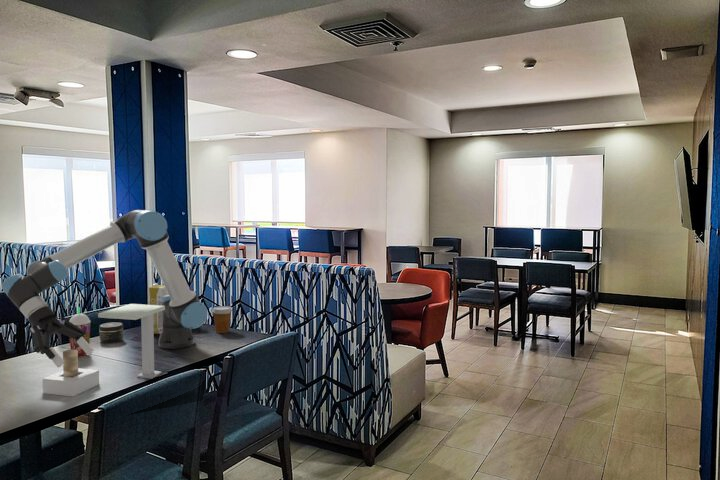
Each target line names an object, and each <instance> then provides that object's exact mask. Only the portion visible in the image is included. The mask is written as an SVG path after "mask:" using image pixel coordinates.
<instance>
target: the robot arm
mask: <svg viewBox="0 0 720 480" xmlns="http://www.w3.org/2000/svg"><path fill="white" fill-rule="evenodd" d="M167 230H168V222H167V220H166V218H165V217H164V215H162V213H159V212H158V211H155V210H152V209H134V210H131V211H128V213H127V212H126V214H124V215H122V216H121V217H118V218H116V219H115V220H113V221H110V224H109V225H108V226H106V227H104V228H102V229H101V230H98V231H97V232H95V233H93V234H91V235H89V236H86V237H84V238H82V239H80V240H79V241H77V242H75V243H73V244H71V245H69V246H67V247H64V248H62V249H61V250H58V251H56V252H54V253H52V254H50V255H49V256H47V257H45V258H43V259H41V260H36V261H33V262H32V261H31V263H29V265H28V266H27V267H26V276H24V275H23V274H20V273H16V274H14V275H10V276H8V277H7V278H5V279H4V281H3V282H2V284H1V289H2V291H3V292H4V294H5V295H6V296H7V297H8V298H9V300H10V301H11V302H12V303H13V304H14V306H15V307H17V309H18V310H19V311H20V312H21V314H23V315H22V316H24V317H25V318H26V319H27V321H28V322H29V323H30V325H31V327H30V328H29V330H28V332H29V333H30V335H31V337H32V341H33V345H34V349H35V352H36V353H37V354H40V355H44V354H45V356H46V357H47V358H48V359H49V360H51V361H52V362H53V364H54V365H55V366H56V367H57V368H61V366H63V363H64V362H65V361H64V360H63V357H61V356H60V354H59V353H58V352H57V350H55V348H54V346H50V344H51V343H50V342H51V336H52V335H57V334H58V335H60V334H62V335H64V336H66V337H71V338H73V339H76V340H78V341H77V343H78V344H79V346H80V347H81V348H82V349H83V350H84V352H85V353H86V355H87V356H90V355H92V353H93V352H94V351H95V349H94V348H93V347H92V346H91V345H90V344H89V343H88V341H87V340H86V339H85V338H84V335H85V334H86V332H85V331H84V330H82V329H80V328H79V327H77V326H76V325H74V324H72V323H71V322H69V321H70V320H68V319H67V318H66V317H65V316H62V317H60V319H58V318H56V314H55V311H54V310H53V309H52V308H51V307H50V306H48V303H47V302H46V301H45V300H44V298H43V297H42V296H41V295H40V294H41V293H43V292H45V291H46V290H49V289H50V288H51V287H53V286H55V285H57V284H59V283H60V282H62V281H63V280H65V279H67V278H68V277H69V274H70V273H69V271H68V269H70V268H72V267H74V266H76V265H78V264H80V263H81V262H84V261H86V260H87V259H89V258H91V257H93V256H95V255H97V254H99V253H101V252H103V251H104V250H107V249H109V248H110V247H113V246H114V245H116V244H119V243H126V242H128V241H130V240H132V239H136V241H137V242H138V244H139V246H140V248H141V249H144V250H146V251H147V253H148V256H149V258H150V259H151V261H152V264H153V266H154V268H155V270H156V272H157V274H158V276H159V278H160V280H161V282H162V284H163V285H164V286H165V288H166V290H167V292H168V295H165V296H163V298H162V306H165V310H163V311H162V326H163V327H162V332H161V334H159V338H158V347H159V348H161V349H167V350H170V349H171V350H173V349H174V350H176V349H183V348H188V347H191V346H193V345H194V343H195V337H194V335H193V332H192V330H194V329H197V328H198V329H199V328H200V327H201V326H202V325H203V324H204V323H205V322H206V321H207V318H208V315H209V314H208V312H209V311H208V309H207V306H206V305H205V304H204V303H203V302H201V301H200V299H199V297H198V295H197V293H196V291H193V290H191V289H190V286H189V284H188V282H187V280H186V278H185V275H184V274H183V272H182V270H181V268H180V266H179V264H178V262H177V259H176V257H175V255H174V253H173V251H172V248H171V246H170V244H169V242H168V241H169V238H170V237H169V234H168V231H167ZM77 336H78V337H77Z"/></svg>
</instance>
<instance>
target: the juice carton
mask: <svg viewBox="0 0 720 480" xmlns="http://www.w3.org/2000/svg"><path fill="white" fill-rule="evenodd" d="M165 295H168V292H167V290H166V288H165V286H164V284H163V285H162V284H159V283H153V284H152V286H150V287H147V305H160V306H162V298H163V296H165ZM153 324H154V334H155V335H161V332H162V327H163V326H162V311H160V312H157V313H154V314H153Z"/></svg>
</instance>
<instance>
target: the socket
mask: <svg viewBox="0 0 720 480" xmlns="http://www.w3.org/2000/svg"><path fill="white" fill-rule="evenodd" d="M98 385H100V369H89V368H80V367H78V375H77V376H75V377H73V378H71V377H64V375H63V369H62V370H60V371H57V372H55V373H53V374H50V375H48V376H46V377H43V378H42V394H48V395H58V396H65V397H66V396H67V397H75V396H78V395H79V394H82V393H84V392H86V391H88V390H89V389H92V388H94V387H96V386H98Z"/></svg>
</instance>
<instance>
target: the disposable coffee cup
mask: <svg viewBox="0 0 720 480" xmlns="http://www.w3.org/2000/svg"><path fill="white" fill-rule="evenodd" d="M232 311H233V309H232V307H231V306H227V305H221V306H215V307H213V309H212V311H211V312H212V313H213V320H214V321H213V323H214V329H215V333H217V334H227V333H229V332H230V325H231V316H232Z"/></svg>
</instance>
